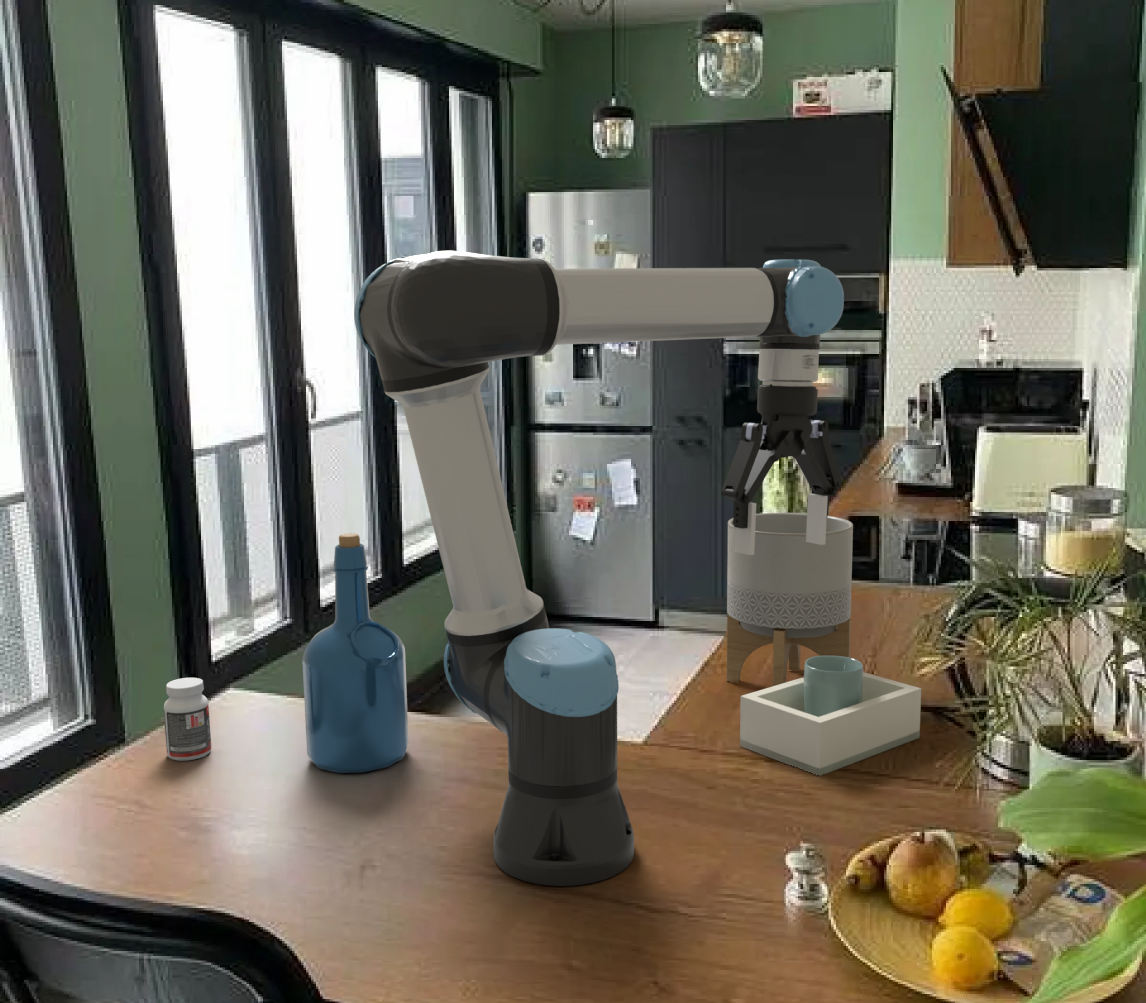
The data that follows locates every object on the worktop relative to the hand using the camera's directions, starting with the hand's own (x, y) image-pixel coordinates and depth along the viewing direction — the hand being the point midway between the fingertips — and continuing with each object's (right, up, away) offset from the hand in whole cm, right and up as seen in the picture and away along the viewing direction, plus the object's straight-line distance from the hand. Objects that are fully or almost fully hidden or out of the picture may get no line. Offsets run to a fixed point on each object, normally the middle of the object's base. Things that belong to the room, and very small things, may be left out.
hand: (780, 548), depth 147 cm
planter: (+7, -23, +31) cm, 39 cm away
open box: (+8, -27, +6) cm, 28 cm away
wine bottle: (-55, -28, +3) cm, 62 cm away
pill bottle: (-78, -28, +5) cm, 83 cm away
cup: (+8, -26, +6) cm, 28 cm away
